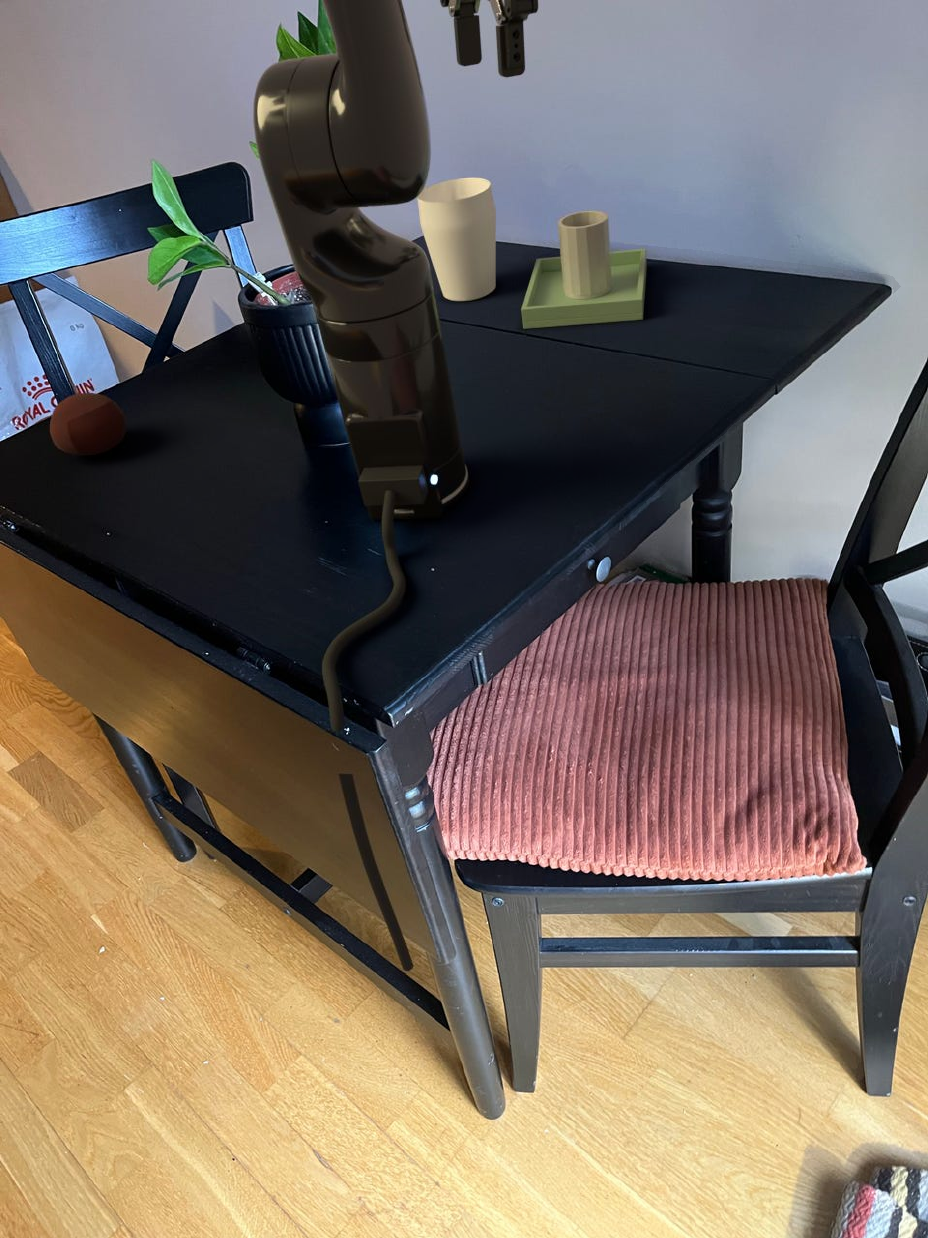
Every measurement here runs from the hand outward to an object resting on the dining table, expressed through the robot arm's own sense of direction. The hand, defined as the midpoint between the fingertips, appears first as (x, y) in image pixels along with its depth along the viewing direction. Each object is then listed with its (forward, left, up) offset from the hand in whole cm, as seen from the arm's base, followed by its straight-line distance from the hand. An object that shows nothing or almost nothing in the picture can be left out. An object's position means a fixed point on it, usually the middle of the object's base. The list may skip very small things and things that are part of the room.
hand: (490, 69), depth 81 cm
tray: (+14, -6, -27) cm, 31 cm away
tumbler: (+14, -6, -26) cm, 30 cm away
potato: (-16, +43, -27) cm, 53 cm away
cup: (+19, +9, -27) cm, 34 cm away
